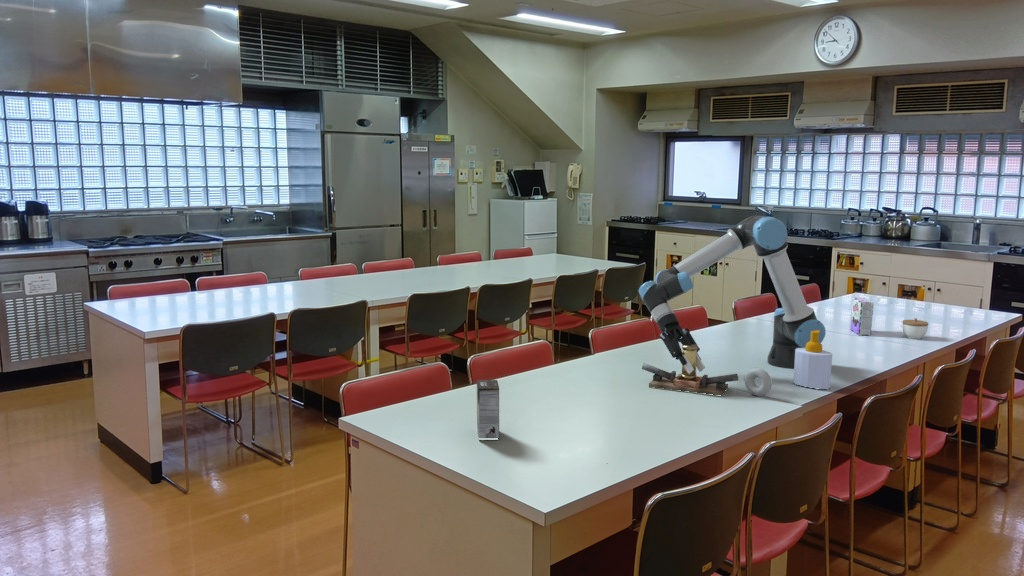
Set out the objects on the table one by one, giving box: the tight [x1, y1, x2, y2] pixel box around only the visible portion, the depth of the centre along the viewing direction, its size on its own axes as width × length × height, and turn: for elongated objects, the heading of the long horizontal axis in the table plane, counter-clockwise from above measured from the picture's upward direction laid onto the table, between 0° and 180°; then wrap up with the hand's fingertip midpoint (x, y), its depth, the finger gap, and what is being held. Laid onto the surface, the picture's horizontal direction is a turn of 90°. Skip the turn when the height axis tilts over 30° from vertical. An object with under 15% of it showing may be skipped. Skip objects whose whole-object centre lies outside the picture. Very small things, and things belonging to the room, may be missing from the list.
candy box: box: [849, 297, 875, 337], centre depth 362 cm, size 14×6×16 cm, turn 172°
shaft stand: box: [641, 362, 739, 397], centre depth 272 cm, size 35×12×7 cm, turn 63°
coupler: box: [680, 344, 699, 380], centre depth 271 cm, size 5×5×12 cm
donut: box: [744, 367, 773, 397], centre depth 262 cm, size 10×4×10 cm, turn 41°
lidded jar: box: [901, 317, 929, 340], centre depth 351 cm, size 11×11×9 cm
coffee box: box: [476, 379, 500, 439], centre depth 223 cm, size 9×6×16 cm
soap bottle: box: [793, 330, 833, 390], centre depth 273 cm, size 13×8×20 cm, turn 47°
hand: (696, 370), depth 268 cm, fingers closed on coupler, 5 cm apart
